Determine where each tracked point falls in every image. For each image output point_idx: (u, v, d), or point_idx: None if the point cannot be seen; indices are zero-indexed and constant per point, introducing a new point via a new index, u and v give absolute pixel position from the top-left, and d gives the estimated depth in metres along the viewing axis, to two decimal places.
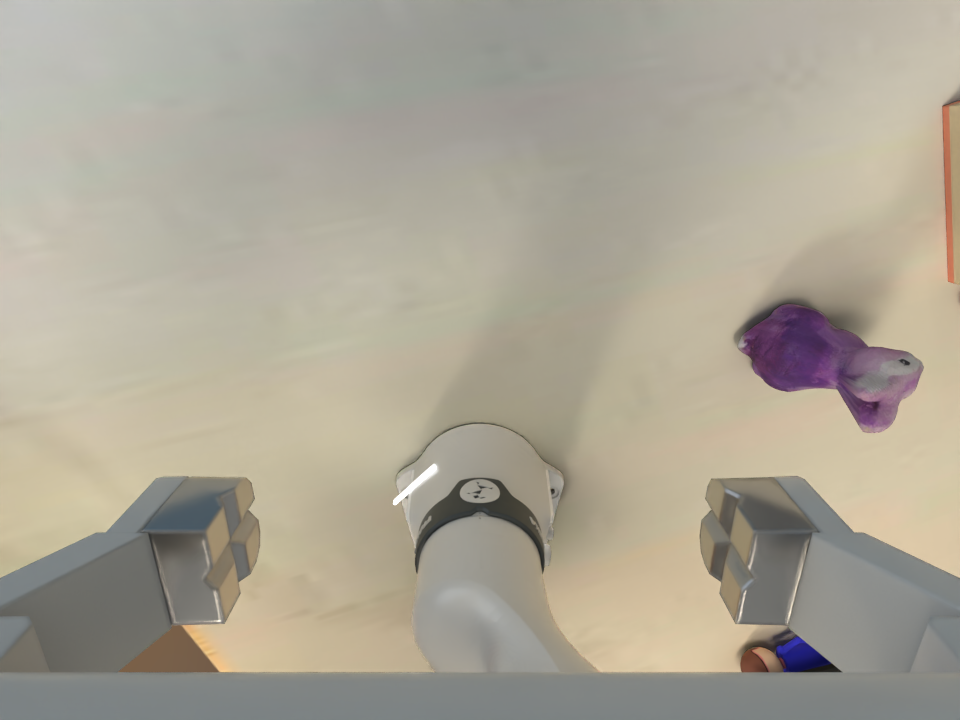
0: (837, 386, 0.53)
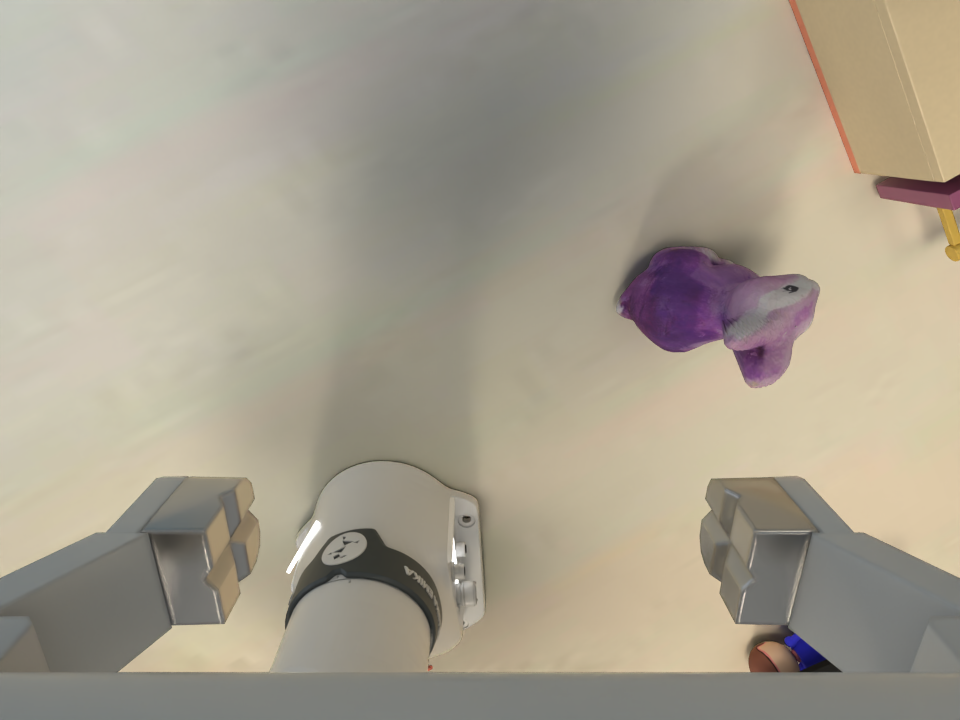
0: None
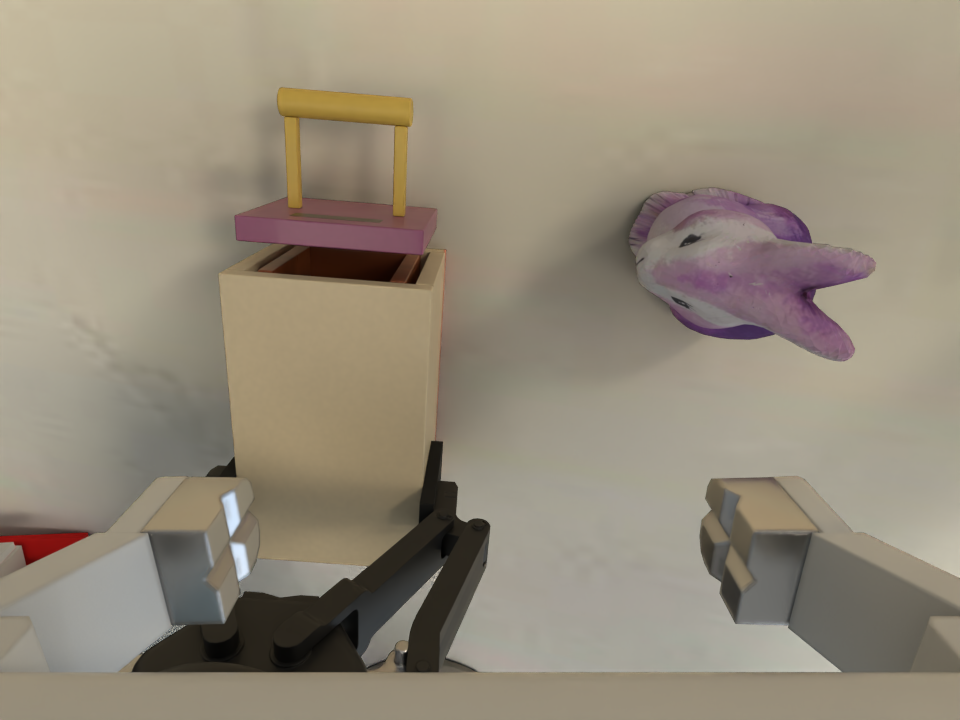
0: None
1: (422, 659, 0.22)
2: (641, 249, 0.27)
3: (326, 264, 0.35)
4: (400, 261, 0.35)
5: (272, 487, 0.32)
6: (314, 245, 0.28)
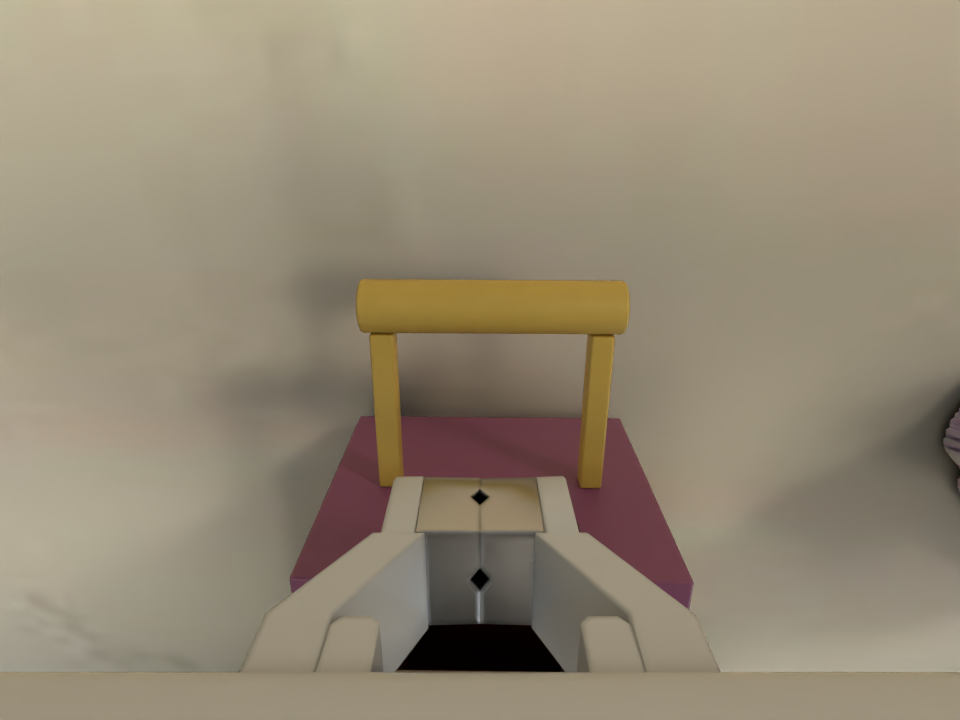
0: None
1: None
2: None
3: None
4: None
5: None
6: None
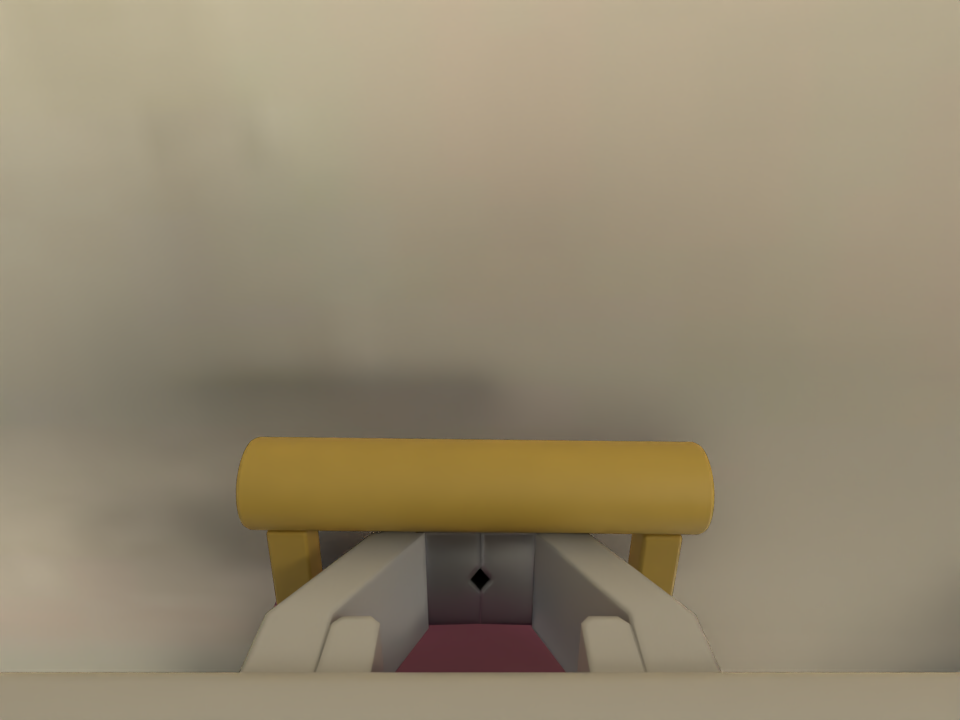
0: None
1: None
2: None
3: None
4: None
5: None
6: None
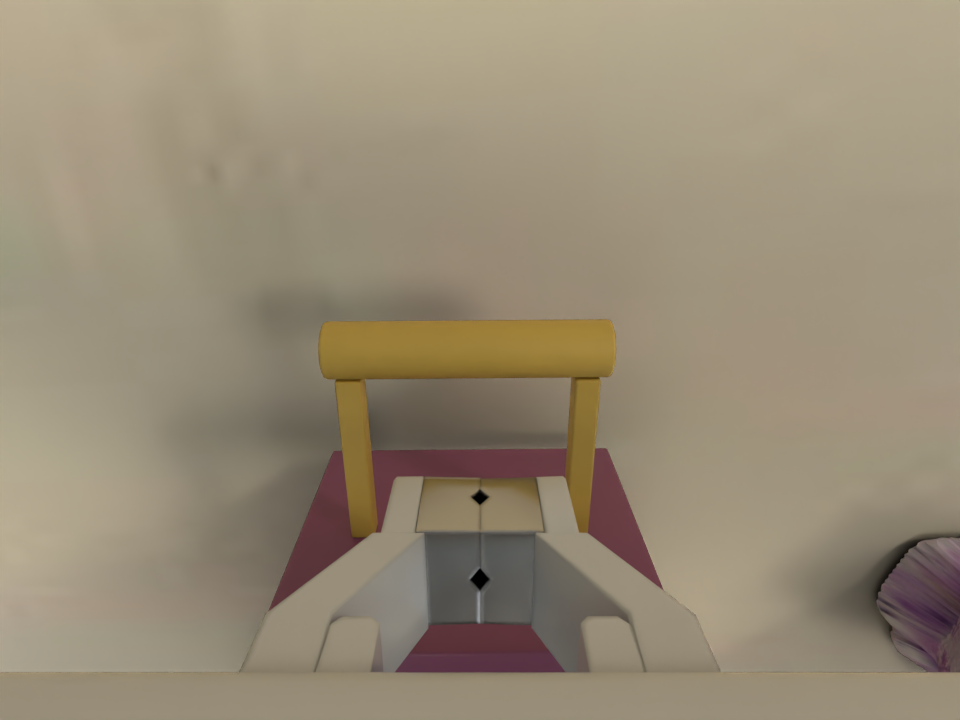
0: None
1: None
2: None
3: None
4: None
5: None
6: None
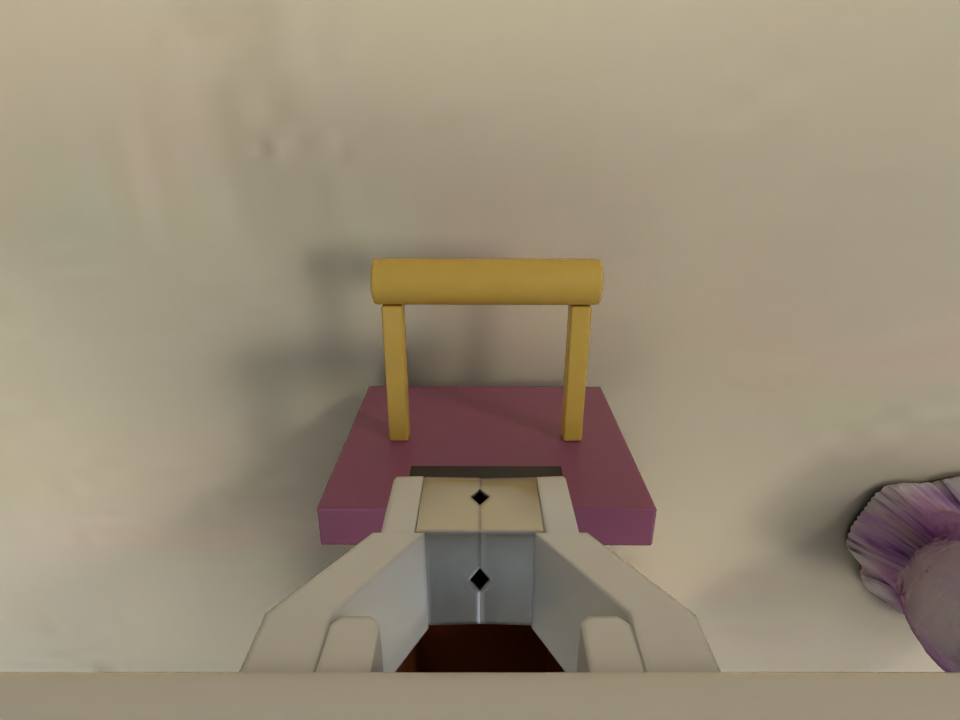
0: None
1: None
2: None
3: None
4: None
5: None
6: None
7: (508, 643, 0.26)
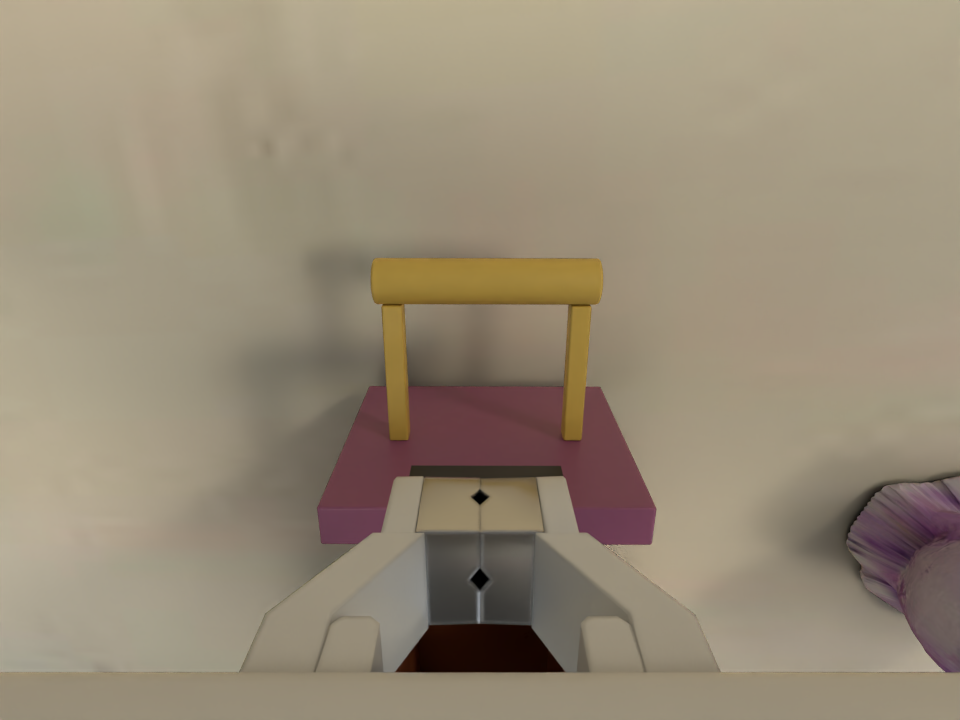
0: None
1: None
2: None
3: None
4: None
5: None
6: None
7: (507, 643, 0.26)
